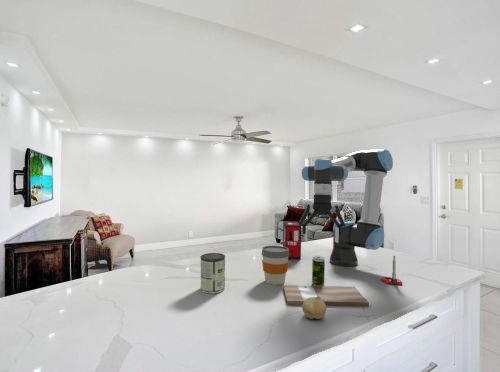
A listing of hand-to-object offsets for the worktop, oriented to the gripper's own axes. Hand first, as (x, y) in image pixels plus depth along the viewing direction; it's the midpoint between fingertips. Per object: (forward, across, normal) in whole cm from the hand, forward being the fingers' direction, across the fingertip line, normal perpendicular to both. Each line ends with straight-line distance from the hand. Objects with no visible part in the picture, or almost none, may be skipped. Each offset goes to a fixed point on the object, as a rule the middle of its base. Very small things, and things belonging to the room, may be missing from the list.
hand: (321, 241), depth 128 cm
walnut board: (+19, -2, -14) cm, 24 cm away
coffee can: (+20, -47, -7) cm, 51 cm away
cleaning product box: (+19, -6, +50) cm, 53 cm away
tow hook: (+19, +34, +6) cm, 40 cm away
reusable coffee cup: (+20, -20, +4) cm, 28 cm away
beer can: (+19, -1, 0) cm, 19 cm away
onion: (+20, -9, -30) cm, 37 cm away
